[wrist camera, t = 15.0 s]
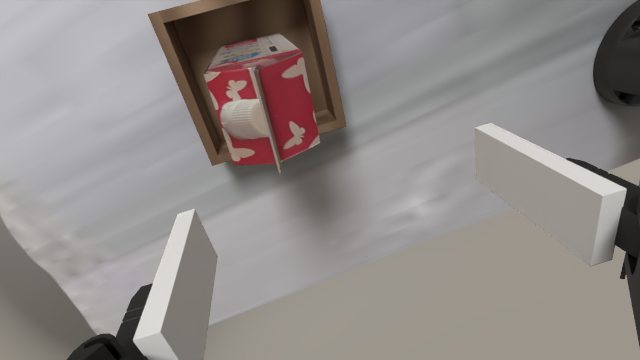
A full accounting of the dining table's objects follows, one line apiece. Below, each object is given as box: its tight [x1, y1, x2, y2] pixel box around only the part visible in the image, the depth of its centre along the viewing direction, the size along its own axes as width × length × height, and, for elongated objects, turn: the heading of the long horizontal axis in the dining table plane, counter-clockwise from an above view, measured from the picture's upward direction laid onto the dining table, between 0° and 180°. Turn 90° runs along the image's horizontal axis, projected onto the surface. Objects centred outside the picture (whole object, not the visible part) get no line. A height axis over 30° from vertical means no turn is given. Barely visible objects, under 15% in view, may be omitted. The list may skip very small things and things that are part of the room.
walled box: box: [148, 0, 346, 166], centre depth 39 cm, size 16×16×6 cm
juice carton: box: [204, 33, 320, 173], centre depth 31 cm, size 7×7×22 cm
